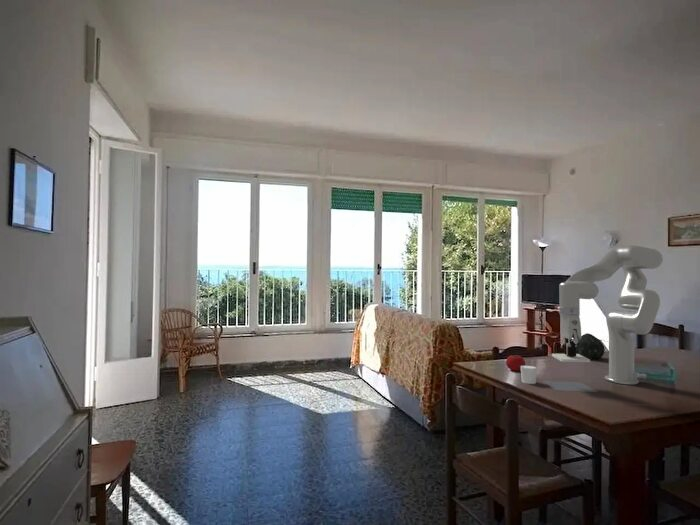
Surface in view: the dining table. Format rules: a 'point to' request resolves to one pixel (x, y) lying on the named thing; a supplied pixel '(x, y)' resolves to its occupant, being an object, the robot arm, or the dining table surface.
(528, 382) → the white cylinder
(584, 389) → the mat
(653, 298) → the robot arm
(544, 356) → the dining table surface
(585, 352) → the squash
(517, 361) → the tomato
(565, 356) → the lid
